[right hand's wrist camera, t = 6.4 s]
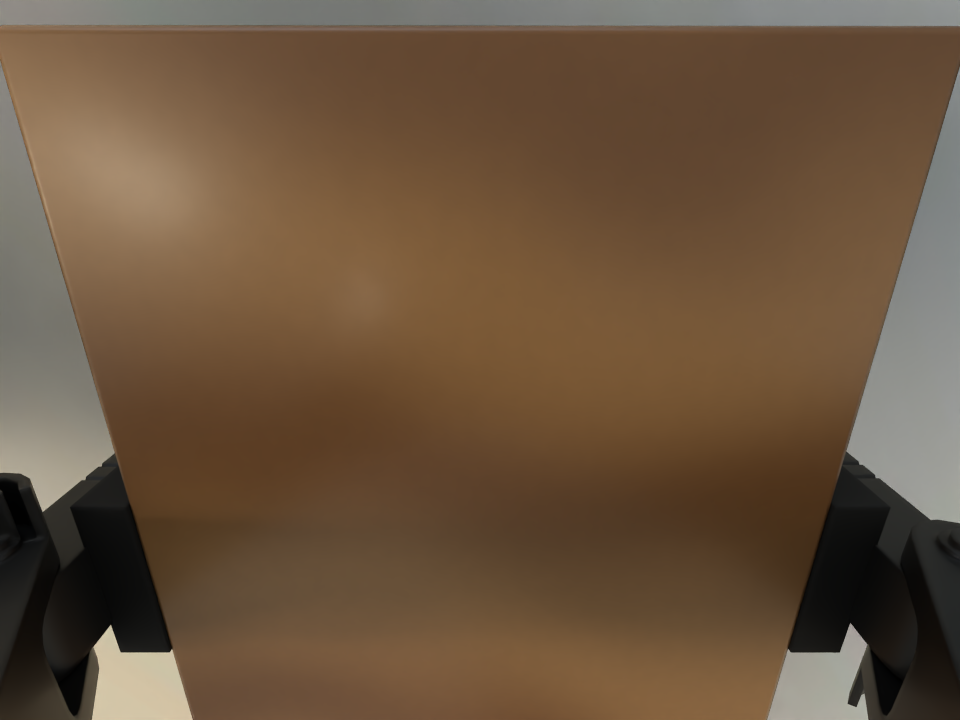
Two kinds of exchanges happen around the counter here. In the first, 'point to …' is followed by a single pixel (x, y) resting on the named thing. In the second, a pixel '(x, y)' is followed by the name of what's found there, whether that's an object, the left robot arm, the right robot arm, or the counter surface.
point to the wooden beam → (480, 342)
